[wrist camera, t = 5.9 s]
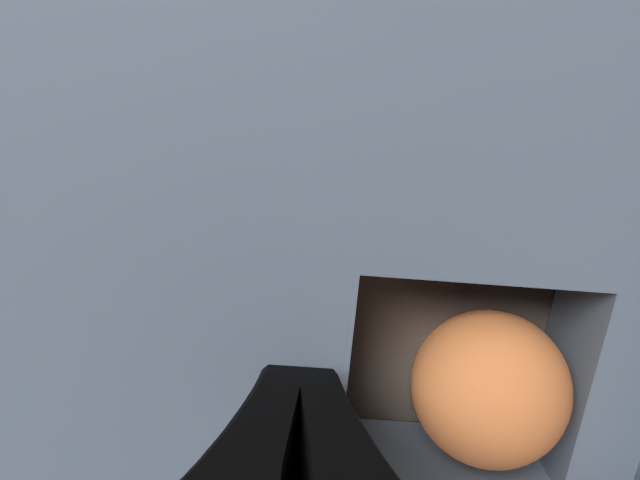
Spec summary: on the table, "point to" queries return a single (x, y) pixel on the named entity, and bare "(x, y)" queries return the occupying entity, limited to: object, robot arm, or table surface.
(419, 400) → the ball
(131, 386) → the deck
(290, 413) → the robot arm
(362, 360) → the table surface
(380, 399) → the table surface
